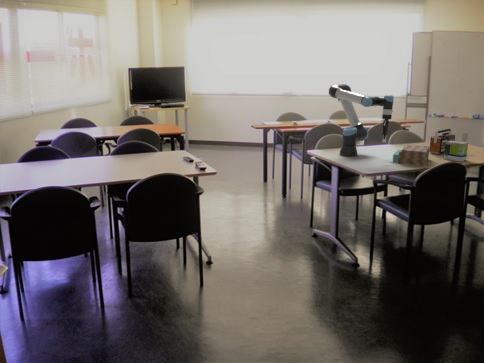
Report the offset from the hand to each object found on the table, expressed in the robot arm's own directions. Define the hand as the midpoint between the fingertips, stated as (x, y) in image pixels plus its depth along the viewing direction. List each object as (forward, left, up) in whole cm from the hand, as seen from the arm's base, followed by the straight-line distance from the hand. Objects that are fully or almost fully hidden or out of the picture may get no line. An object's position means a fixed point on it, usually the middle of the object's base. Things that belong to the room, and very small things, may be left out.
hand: (384, 142), depth 415 cm
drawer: (+22, -4, -13) cm, 26 cm away
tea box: (+55, +20, -13) cm, 60 cm away
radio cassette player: (+42, +50, -13) cm, 67 cm away
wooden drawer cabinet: (+25, -4, -13) cm, 29 cm away
